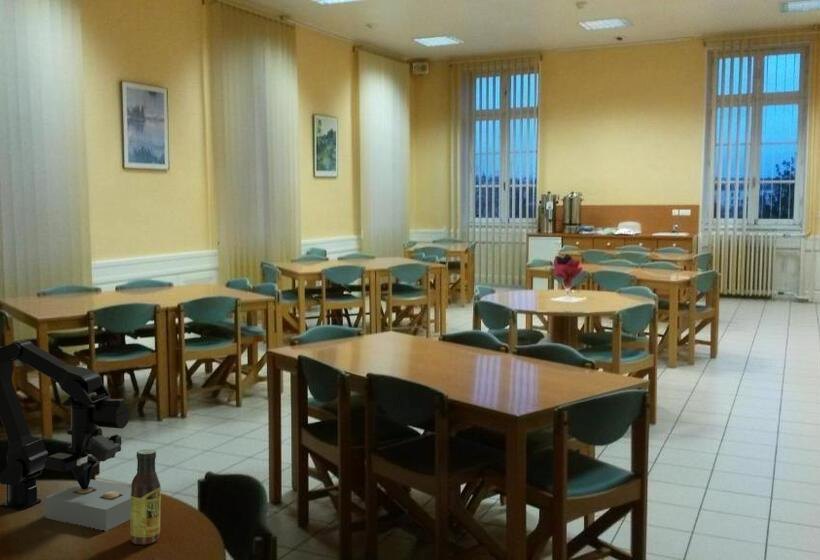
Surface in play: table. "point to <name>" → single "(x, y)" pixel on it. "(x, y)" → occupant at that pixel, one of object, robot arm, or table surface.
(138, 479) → the sauce bottle
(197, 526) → the table surface
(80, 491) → the peg
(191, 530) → the table surface
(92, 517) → the board
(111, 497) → the peg
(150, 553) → the table surface
